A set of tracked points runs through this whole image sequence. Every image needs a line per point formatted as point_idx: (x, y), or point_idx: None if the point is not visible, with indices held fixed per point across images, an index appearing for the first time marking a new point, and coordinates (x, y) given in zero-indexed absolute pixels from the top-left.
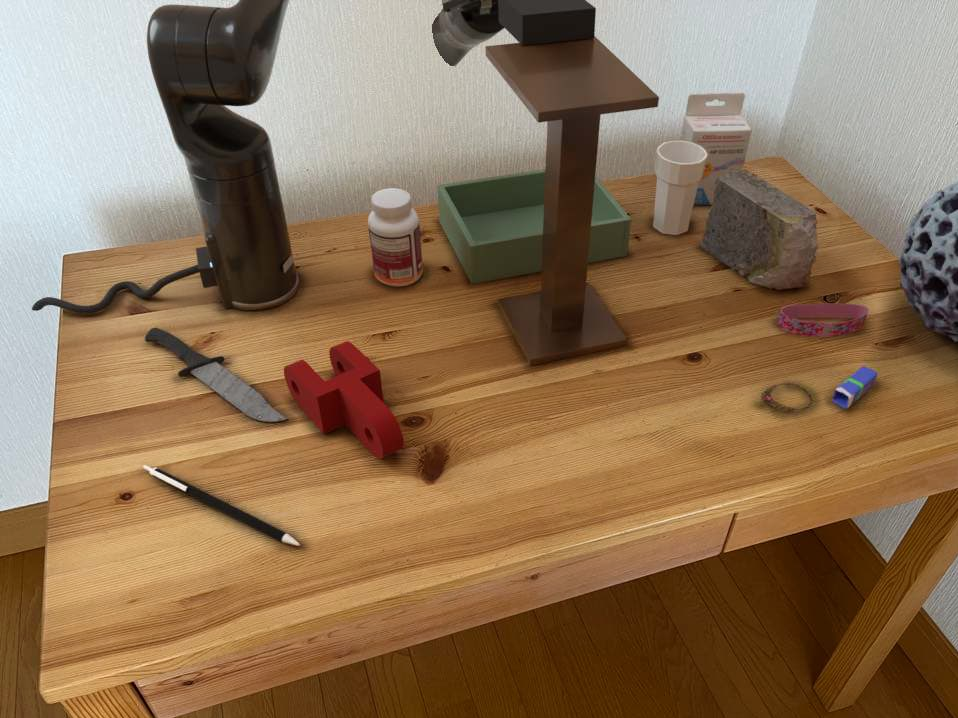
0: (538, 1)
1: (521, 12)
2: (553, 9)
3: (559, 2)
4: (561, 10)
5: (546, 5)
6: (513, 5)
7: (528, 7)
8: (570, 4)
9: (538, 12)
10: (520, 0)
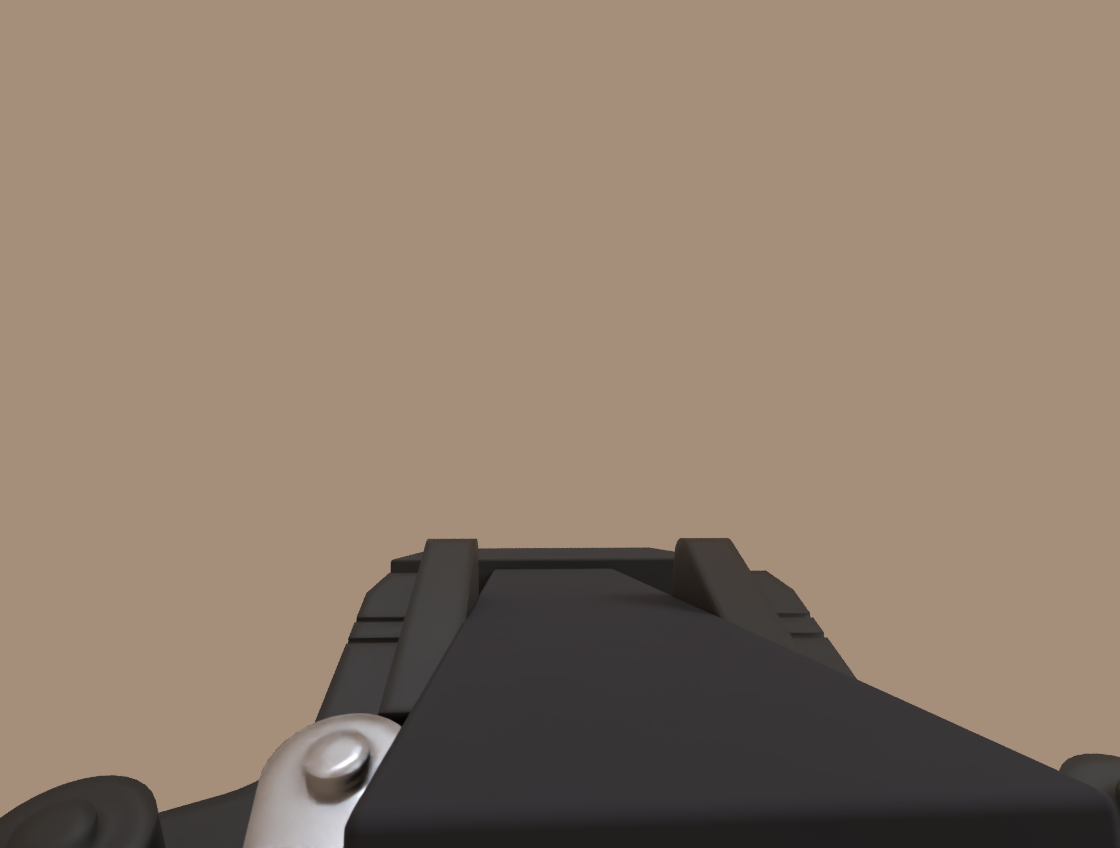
0: (576, 551)
1: (649, 548)
2: (554, 548)
3: (512, 551)
4: (535, 548)
5: (562, 550)
6: (665, 550)
7: (621, 549)
8: (488, 550)
9: (602, 548)
10: (634, 552)
